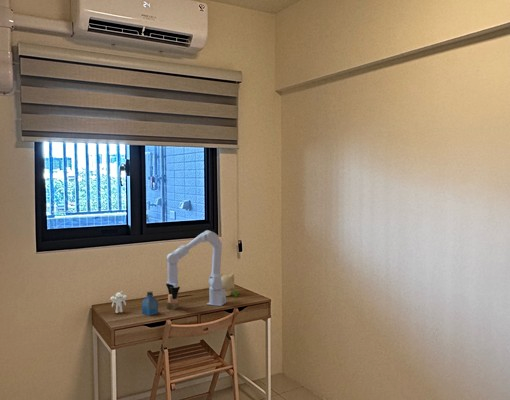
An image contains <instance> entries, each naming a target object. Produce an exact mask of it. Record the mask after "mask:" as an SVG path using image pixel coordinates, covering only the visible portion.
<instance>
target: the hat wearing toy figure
mask: <svg viewBox="0 0 510 400" xmlns="http://www.w3.org/2000/svg"><path fill="white" fill-rule="evenodd" d="M123 292H124V290H121V291H120V292H116V293H115V296H114V295H112V296H111V297H110V301H112V303H111V308H113V307H114V306H115V313H116V314H119V313H123V305H124V306H127V302H126V300H127V299H128V297H127V295H126V294H122V293H123ZM122 302H123V303H122Z"/></svg>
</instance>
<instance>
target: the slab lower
mask: <svg viewBox="0 0 510 400" xmlns="http://www.w3.org/2000/svg"><path fill="white" fill-rule="evenodd" d="M179 306H180V305H179V304H178V305H177V306H175V307H170V306H166V310H171V309H172V311H175V310H177V309H179V308H180V307H179Z"/></svg>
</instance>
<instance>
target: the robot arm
mask: <svg viewBox="0 0 510 400" xmlns="http://www.w3.org/2000/svg"><path fill="white" fill-rule="evenodd" d="M207 242H208V243H209V244H210V245H211V246H212V258H211V259H212V260H211V272H210V275H209V278H208V279H207V280H208V281H207V283H208V285H209V289H208V291H209V292H208V293H209V294H208V295H209V296H208V297H209V301H208V302H207V303H206V305H210V306H217V307H219V306H220V307H221V306H224V304H227V296H226V292H225V290H223V289H221V287H222V281H221V275H220V274H221V262H222V248H223V247H222V245H223V244H222V242H221V240H220V238H219V235H218V234H217V233H216V232H214V231H211V230H208V229H206V230H204V231H203V232H201V233H200V234H198V235H197V236H196V237H195V238H193V239H192V240H191V241H189V242H188V243H187V244H186V245H185V244H183V245H182V244H181V245H179V246H178V248H177V249H175V250H172V252H170V253H168V254H167V255H166V258H165V259H166V262H167V267H166V268H167V281H165V286H166V287H167V290H168V294H172V298H173V299H177V295H178V294H179V291H180V289H181V287H180V286H179V285H178V284H179V280H178V279H179V277H178V275H179V274H178V271H179V270H178V267H179V266H178V262H179V260H181V259H183V258H184V257H185V256H187V255H188V254H189V253H190V252H189V251H190V250H192V249H193V248H194V247H196V246H197V245H199V244H200V243H207Z"/></svg>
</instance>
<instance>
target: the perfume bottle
mask: <svg viewBox="0 0 510 400" xmlns="http://www.w3.org/2000/svg"><path fill="white" fill-rule="evenodd" d="M153 296H154V292H153V291H147V292H146V297H144V299H143V301H142V302H141V312H142V313H141V314H142V315H146V316H149V317H150V316H152V315H153V316H154V315H157V314H159V302H158V300H157V299H156V297H153Z"/></svg>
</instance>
